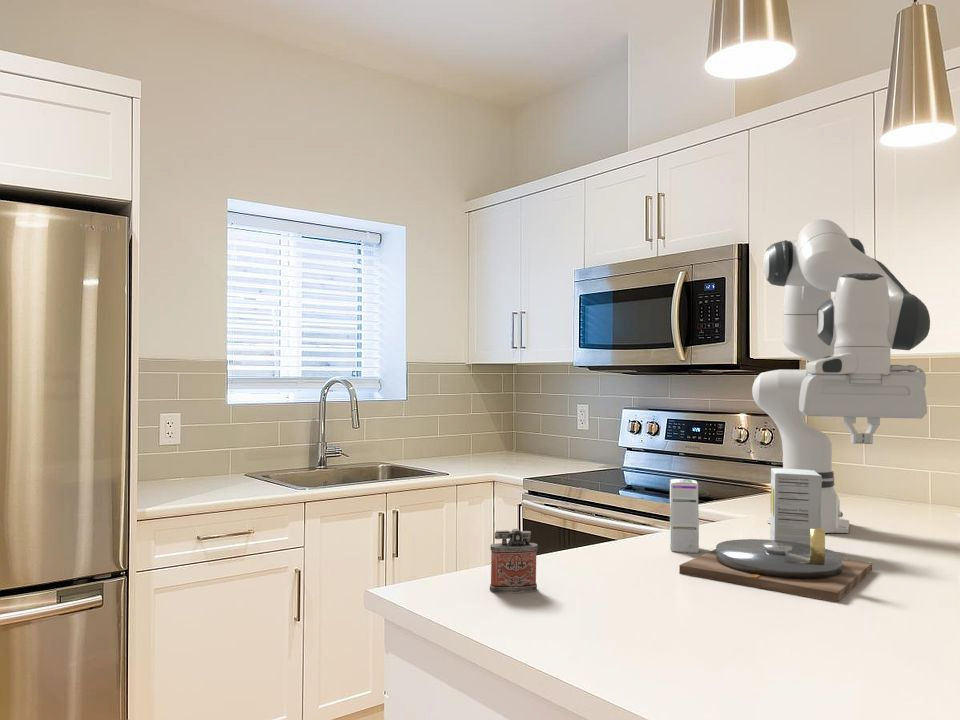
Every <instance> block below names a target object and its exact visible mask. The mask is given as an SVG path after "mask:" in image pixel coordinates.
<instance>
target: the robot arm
mask: <svg viewBox="0 0 960 720" xmlns="http://www.w3.org/2000/svg"><path fill="white" fill-rule="evenodd" d="M762 271H763V273H764V276H765V278H766V281H767V282H768V283H769V284H770V285H772V286H777V287H785V288H784V289H785V290H784V295H783V296H784V297H783V306H782V307H783V308H782V309H783V310H782V313H783V315H782V317H783V319H782V321H783V322H782V323H783V324H782V325H783V327H782V333H783V334H782V336H783V338H782V340H783V341H782V342H783V344H784V346H785V349H787V350H789V351H790V352H791V353H793V354H795V355H797V356H799V357H800V358H804V359H806V360H807V361H808V362H806V364H805V369H773V370H768V371H765V372H761V373H759V374H758V376H756V378H755V379H754V382H753V384H752V388H751V392H752V393H751V394H752V398H753V400H754V402H755V404H756V406H757V407H758V408H759V409H760V410H761V411H763V412H765V414H766V415H768V416H769V417H770V418H771V420H772V421H773V422H774V423H775V425H776V427H777V430H778V431H779V435H780V438H781V449H782V469H800V470H815V471H816V472H817V473H818V474H819V475H821V476H822V494H821V529H825V534H826V533H827V534H828V533H829V534H830V533H831V534H832V533H833V534H834V533H837V534H838V533H840V534H848V533H849V532H850V525H851V524H850V520H849V519H846V518H842V517H843V516H844V514H843V512H842V511H841V506H840V505H841V501H840V497H839V495H838V494H837V491H836V489H835V488H834V486H835V473H834V470H832V469H833V467H832V463H833V462H832V461H833V460H832V459H833V458H832V455H833V454H832V453H833V452H832V451H833V448H832V447H833V444H832V441H831V439H830V437H829V436H828V435H827V434H826V433H824V432H823V431H821V430H819V429H817V428H815V427H813V426H812V425H809V424H808V423H806V421H805V419H804V418H805V417H804V416H806V417H837V418H843V425H844V426H845V428H846V429H847V430H848V433H849V434H850V435H849V438H850V439H849V440H850V441H849V442H850V444H856V445H858V444H860V445H862V444H863V445H873V443H874V434H875V432H876V431H878V430H877V429H879V426H881V419H882V418H883V419H886V418H887V419H916V420H917V419H920V420H921V419H923V418H924V417H925V416H926V415H927V414H928V413H927V412H928V405H927V396H926V390H925V388H926V384H927V382H926V381H927V375H926V372H925V371H924V370H923V369H922V368H919V367H918V366H917V365H915V364H913V365H912V364H911V365H910V364H909V365H902V364H891V350H897V351H898V350H899V351H911V350H913V349H914V348H916V347H917V346H919V345H920V344H921V343H923V341H925V339H926V338H927V337H928V335H929V333H930V330H931V329H930V328H931V319H930V312H929V309H928V308H927V306H926V305H925V303H924V302H923V301H922V300H921V299H920V298H919V297H917V296H916V295H915V294H913V293H911V292H910V291H908V290H907V288H906V287H905V286H904V285H903V284H902V283H901V282H900V281H899V280H898V279H897V277H896V276H895V275H894V274H893V273H892V272H891V271H890V269H888V267H886V265H885V264H884V263H883V262H881V261H879V260H877V259H875V258H873V257H871V256H869V255H867V252H866V251H865V247H864V245H863V243H862V241H860V239H858V238H853V237H849V236H848V234H847V233H846V232H845V230H844V229H843V228H842V227H841V226H840V225H839V224H837V223H836V222H834V221H832V220H830V219H816V220H813V221H810V222H808V223H807V224H806V225H805V226H803V228H801V230H800V231H799V234H798V236H797V239H793V240H787V239H785V240H781V241H777V242H774V243H772V244H770V245H769V246H768V247H767V249H766V250H765V254H764V256H763V259H762ZM832 293H835V294H834V296H833V297H832ZM857 418H866V422H867V424H868V425H869V426H868V427H867V429H866V431H865V432H858V431H857V429H856V428H855V426H854V425H856V423H857ZM766 520H767V521H766V523H767V524H770V520H771V517H768V518H767V519H766Z"/></svg>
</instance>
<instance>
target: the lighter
mask: <svg viewBox="0 0 960 720" xmlns="http://www.w3.org/2000/svg"><path fill="white" fill-rule="evenodd" d="M531 535H532V532H531V531H530V530H522V531H521V530H520V529H518V528H513V529H512V530H511V531H510V530H507V529H506V530H496V531H494V539H496V540H501V542H498V543H491V544H490V546H489V547H490V549H489V550H490V552H491V554H490V555H491V556H490V559H491V560H490V561H491V562H490V563H491V565H490V584H489V591H490V592H491V593H497V594H501V593H502V594H503V593H504V594H506V593H507V594H509V593H511V594H512V593H515V594H516V593H517V594H518V593H526V592H527V593H529V592H536V591H537V590H538V584H537V551H538V548H539V547H538V544H537V543H535V542H530V541H531V537H532V536H531Z"/></svg>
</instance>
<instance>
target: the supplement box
mask: <svg viewBox="0 0 960 720" xmlns="http://www.w3.org/2000/svg"><path fill="white" fill-rule="evenodd" d="M782 468H783V467H782ZM782 468H781V467H780V468H778V467H777V468H776V467H774V468H773V467H771V468H770V518H771V520H770V523H769V526H770V529H769V533H770V537H769V540H778V541H788V542H795V543H802V544H807V545H810V528H821V494H822V476H821V475H819V474H818V473H817V472H816V471H815V470H800V469H782Z"/></svg>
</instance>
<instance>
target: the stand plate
mask: <svg viewBox="0 0 960 720" xmlns="http://www.w3.org/2000/svg"><path fill="white" fill-rule="evenodd" d="M678 571H679V573H678V574H681V575H688V576H693V577H698V578H704V579H709V580H715V581H719V582H720V581H721V582H725V583H730V584H737V585H741V586H747V587H753V588H758V589H762V590H763V589H764V590H769V591H775V592H780V593H785V594H790V595H791V594H792V595H794V596H795V595H796V596H802V597H808V598H813V599H818V600H823V601H829V602H833V603H834V602H835V603H838V602H839V601H841V600H842V598H844V597H845V596H846V595H847V594H848V593H850V591H852V590H853V589H854V588H855V587H857V585H858V584H859V583H860V582H861V581H863V580H864V579H865V578H866V577H867V576H868V575H870V573H872V572H873V562H868V561H862V560H861V561H860V560H854V559H847V558H843V559H842V572H841V573H839V574H837V575H834V576H828V577H819V578H793V577H780V576H771V575H764V574H758V573H752V572H748V571H743V570H739V569H736V568H732V567H729V566H727V565H725V564H722V563H721V562H719V561H718V560H717V559H716V548H715V549H712V550H710V551H708V552H706V553H704V554H702V555H701V554H700V555H699V556H696V557H694V558H692V559H690V560H687V561H686V562H684V563H681V564H679V569H678Z"/></svg>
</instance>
